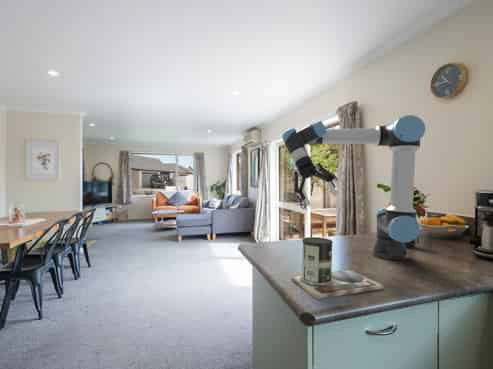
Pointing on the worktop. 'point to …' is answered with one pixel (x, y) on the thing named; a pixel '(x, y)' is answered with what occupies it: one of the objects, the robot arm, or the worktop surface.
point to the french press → (411, 243)
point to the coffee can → (317, 261)
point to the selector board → (339, 285)
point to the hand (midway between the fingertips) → (322, 200)
